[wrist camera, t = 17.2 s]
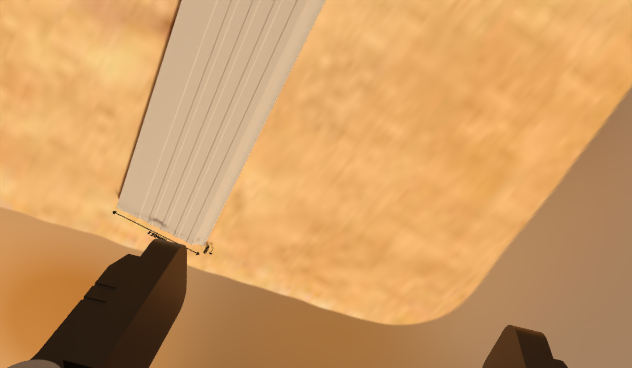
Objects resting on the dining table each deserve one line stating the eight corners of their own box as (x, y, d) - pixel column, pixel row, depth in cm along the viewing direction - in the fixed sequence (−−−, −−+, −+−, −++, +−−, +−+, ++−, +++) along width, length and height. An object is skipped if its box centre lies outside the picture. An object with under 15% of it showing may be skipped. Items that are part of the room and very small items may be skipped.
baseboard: (346, 1, 36) (212, -78, 35) (342, 7, 34) (198, -77, 33) (218, 248, 53) (123, 200, 51) (209, 264, 50) (109, 215, 49)
